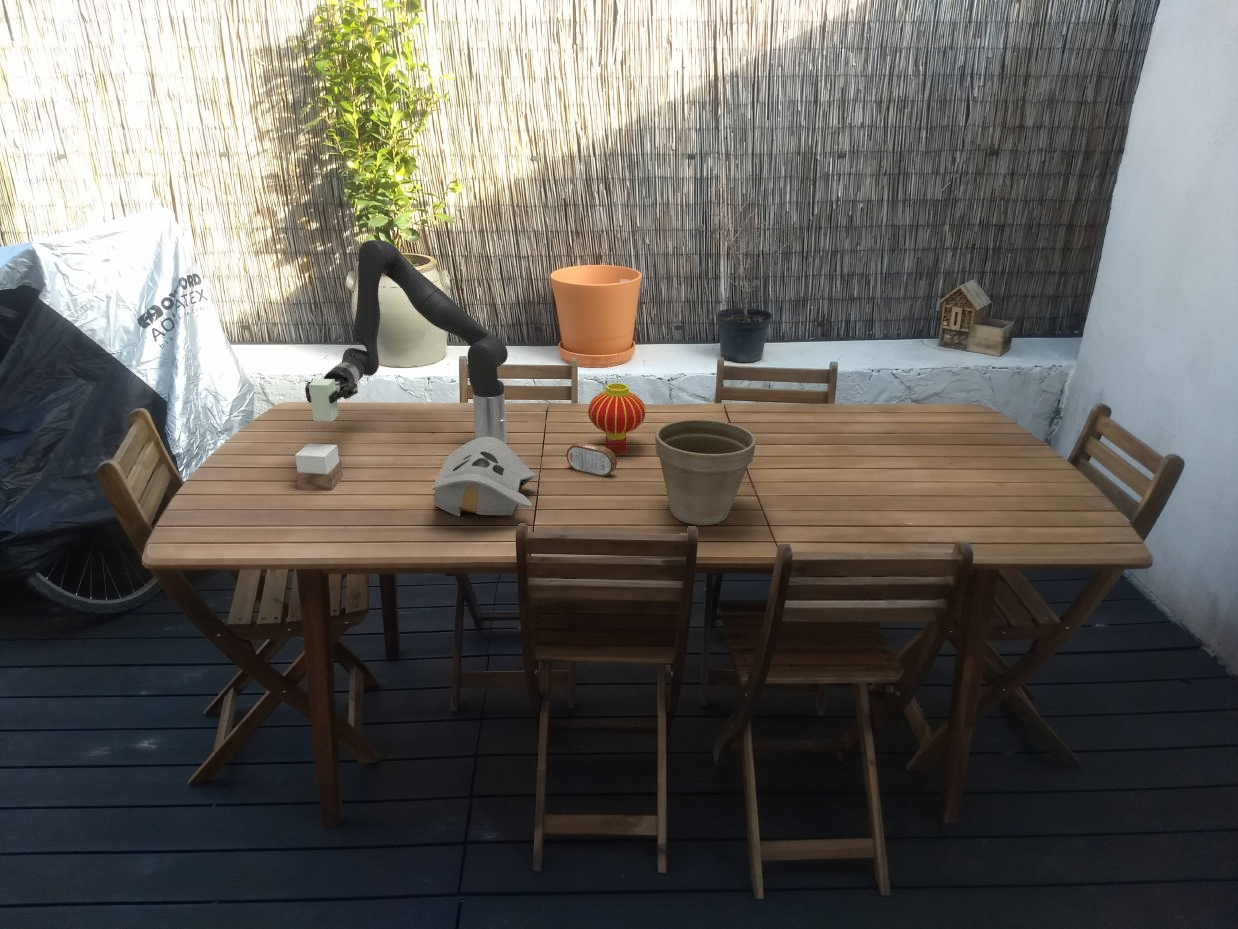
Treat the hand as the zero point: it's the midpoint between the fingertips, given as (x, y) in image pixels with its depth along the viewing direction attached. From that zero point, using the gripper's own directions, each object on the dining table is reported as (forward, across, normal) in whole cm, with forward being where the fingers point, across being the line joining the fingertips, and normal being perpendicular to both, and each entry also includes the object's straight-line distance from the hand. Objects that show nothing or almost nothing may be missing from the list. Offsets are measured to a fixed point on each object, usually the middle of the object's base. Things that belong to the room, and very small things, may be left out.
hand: (319, 399), depth 209 cm
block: (-3, 0, +6) cm, 7 cm away
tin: (-11, +70, +24) cm, 75 cm away
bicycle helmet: (+12, +45, +24) cm, 52 cm away
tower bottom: (+2, -2, +24) cm, 24 cm away
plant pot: (+12, +100, +24) cm, 103 cm away
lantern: (-28, +77, +24) cm, 85 cm away
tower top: (+2, -2, +19) cm, 19 cm away
